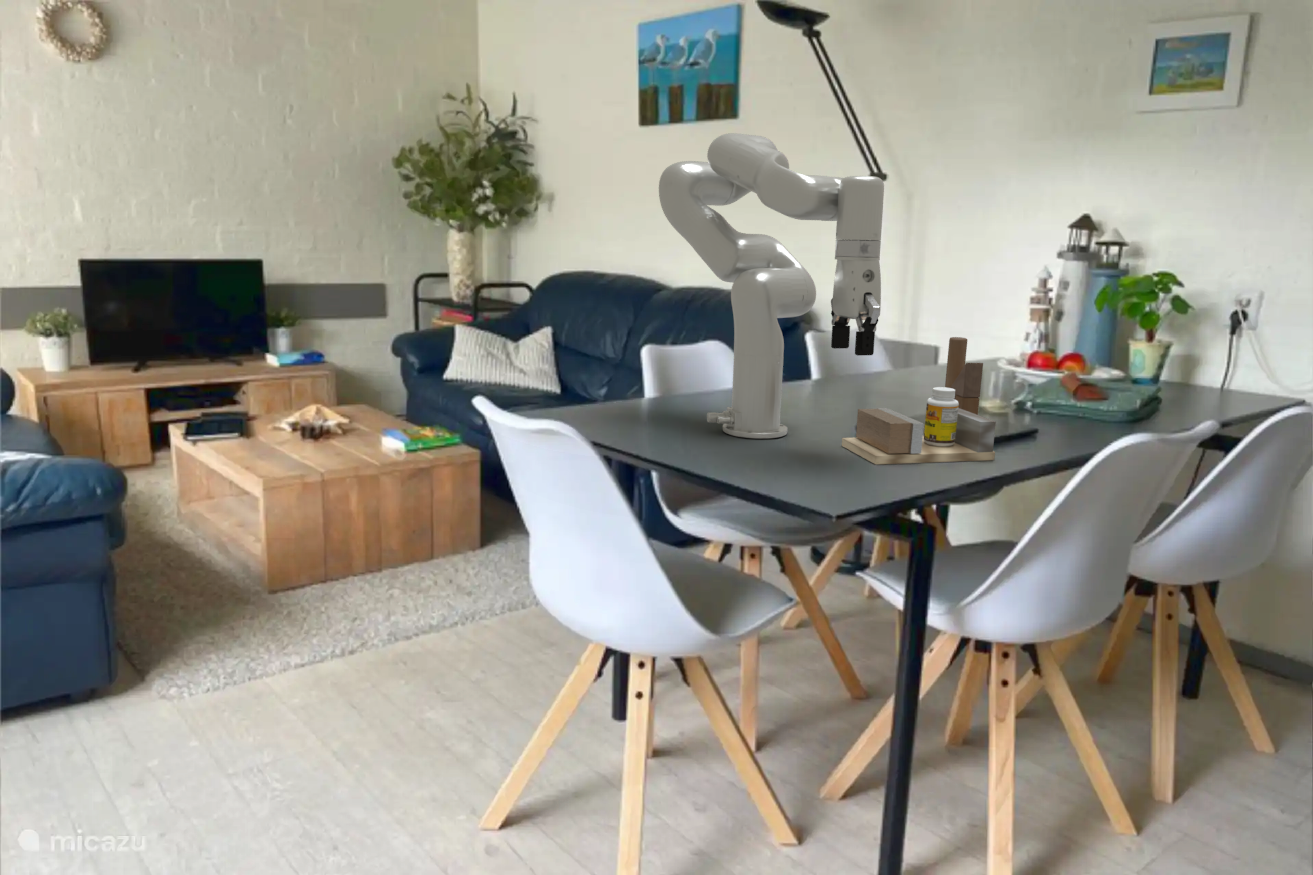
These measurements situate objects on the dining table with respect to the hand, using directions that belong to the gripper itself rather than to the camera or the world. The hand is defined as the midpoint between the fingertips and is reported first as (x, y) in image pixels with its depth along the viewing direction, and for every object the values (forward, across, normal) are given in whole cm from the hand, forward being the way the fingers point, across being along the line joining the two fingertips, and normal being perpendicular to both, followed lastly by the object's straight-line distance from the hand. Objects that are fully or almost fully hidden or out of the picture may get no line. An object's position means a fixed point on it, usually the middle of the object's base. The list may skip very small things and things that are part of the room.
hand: (851, 351), depth 169 cm
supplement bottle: (+18, +1, -19) cm, 26 cm away
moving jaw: (+17, +1, -8) cm, 19 cm away
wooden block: (+19, +21, -34) cm, 44 cm away
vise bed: (+19, +1, -14) cm, 23 cm away
